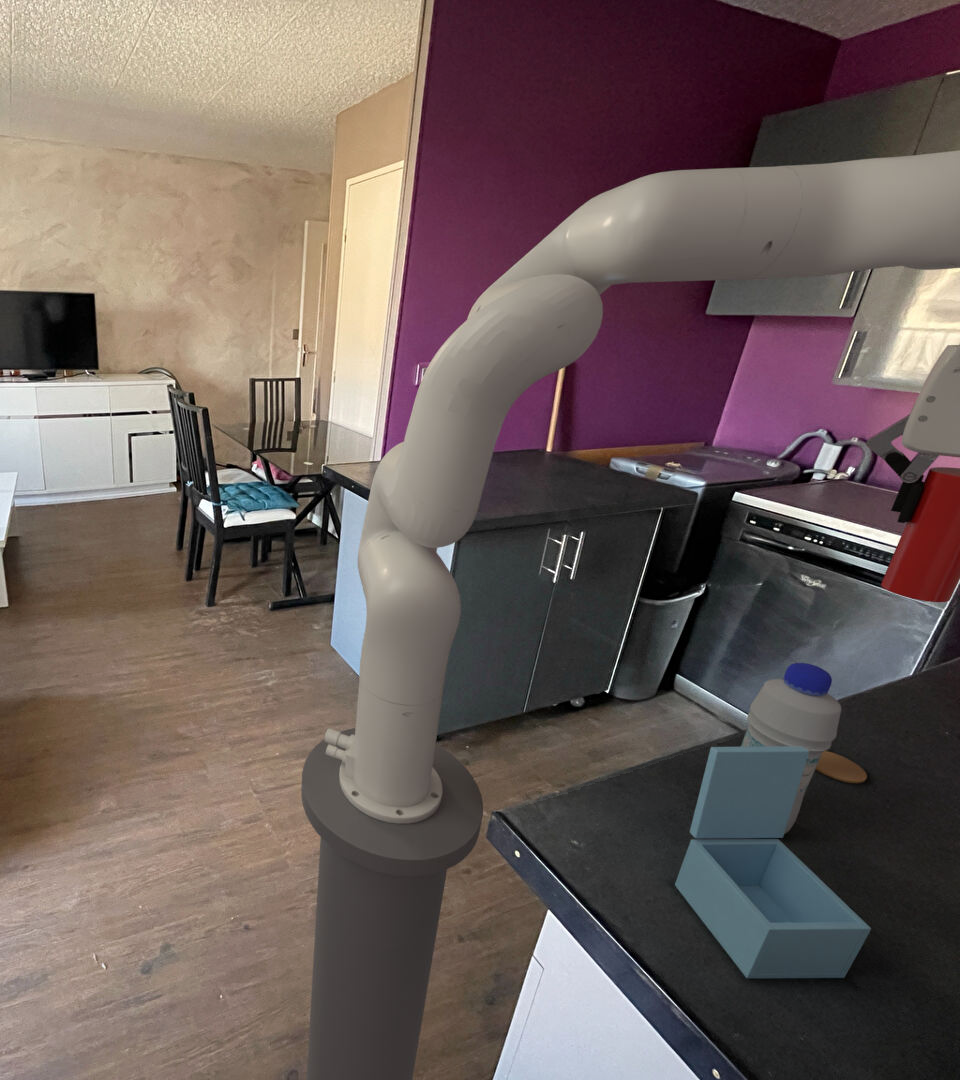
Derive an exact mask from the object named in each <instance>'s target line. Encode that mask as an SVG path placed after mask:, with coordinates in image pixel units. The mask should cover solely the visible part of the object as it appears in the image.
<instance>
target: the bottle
mask: <svg viewBox="0 0 960 1080" xmlns="http://www.w3.org/2000/svg"><path fill="white" fill-rule="evenodd" d="M832 683H833V677H832V676H831V674H830V673H829V672H828V671H826V670H825V669H823V668H822V667H820V666H818V665H814V664H811V663H808V662H807V663H806V662H795V663H791V664H789V666H787V668H786V670H785V672H784V675H783V678H772V679H769V680H767V681H765V682H764V684H763V685H762V687H761V689H760V690H759V692H758V693H757V695H756V696H755V698H754V699H753V700H752V702H751V704H750V706H749V712H748V714H747V722H748V726H747V729H746V731H745V734H744V736H743V739H742V742H741V745H740V747H782V746H801V747H803V748H805V749H806V750H808V751H809V754H808V758H807V761H806V764H805V767H804V771H803V774H802V777H801V781H800V784H799V787H798V790H797V794H796V797H795V800H794V803H793V807H792V810H791V813H790V817H789V820H788V823H787V826H786V830H785V833H784V835H785V834H787V833H788V832H789V831H790V830H791V829H792V827H793V826H794V824H795V822H796V821H797V818H798V816H799V812H800V811H801V810H800V809H801V806H802V804H803V800H804V796H805V793H806V791H807V789H808V787H809V785H810V782H811V780H812V777H813V776H814V773H815V771H816V766H817V764H818V762H819V760H820V757H821V755H822V752H824V751H828V750H829V749H830V748H831V747H832V742H833V741H834V740H835V739H836V738H837V735H838V726H839V723H840V719H841V718H840V717H841V713H842V706H841V704H840V702H839V701H838V700H837V699H836V698H834V696H832V695H831V694H829V691H830V688H831V686H832Z"/></svg>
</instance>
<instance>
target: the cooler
mask: <svg viewBox="0 0 960 1080" xmlns="http://www.w3.org/2000/svg"><path fill="white" fill-rule="evenodd" d="M674 886H675V887H676V889H677V890H678V892H679V893H680V894H681V895H682V896H683V898H684V899H685V900H686V902H687V903H688V905H689V906H690V907H691V909H692V910H693V912H694V913H696V914H697V916H698V918H699V919H700V920H701V922H702V923H703V924H704V925H705V926H706V927H707V929H708V931H709V932H710V933H711V934H712V935H713V937H714V938H715V939H716V941H717V942H718V943H719V944H720V946H721V947H722V948H723V950H724V951H725V952H726V954H727V955H728V956H729V957H730V959H731V961H732V962H733V963H734V964H735V965H736V967H737V969H739V971H740V972H741V973H742V975H743V976H744V977H745V978H746V979H844V978H845V977H846V975H847V974H848V972H849V970H850V969H851V967H852V965H853V963H854V961H855V959H856V958H857V956H858V954H859V952H860V951H861V949H862V947H863V945H864V943H865V941H866V940H867V938H868V936H869V934H870V932H871V930H872V928H871V927H870V926H869V924H867V923H866V922H865V921H864V920H863V919H862V918H861V917H860V916H859V915H858V914H857V913H856V912H855V911H853V910H852V909H851V907H850V906H848V904H846V903H845V901H844V900H842V899H841V898H840V897H839V896H838V895H837V894H836V893H835V892H834V891H833V890H832V889H831V888H830V887H828V885H827V884H825V882H823V880H822V879H820V878H819V877H818V875H816V874H815V873H814V872H813V871H812V870H811V869H810V868H809V867H808V866H807V865H806V864H805V863H804V862H803V861H802V860H801V859H800V858H798V857H797V855H796V854H794V853H793V851H791V850H790V849H789V848H788V847H787V846H786V845H785V844H784V843H783V842H782V841H781V840H780V838H697V839H690V842H689V845H688V847H687V850H686V853H685V855H684V858H683V861H682V863H681V866H680V869H679V872H678V875H677V877H676V880H675V883H674Z"/></svg>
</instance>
